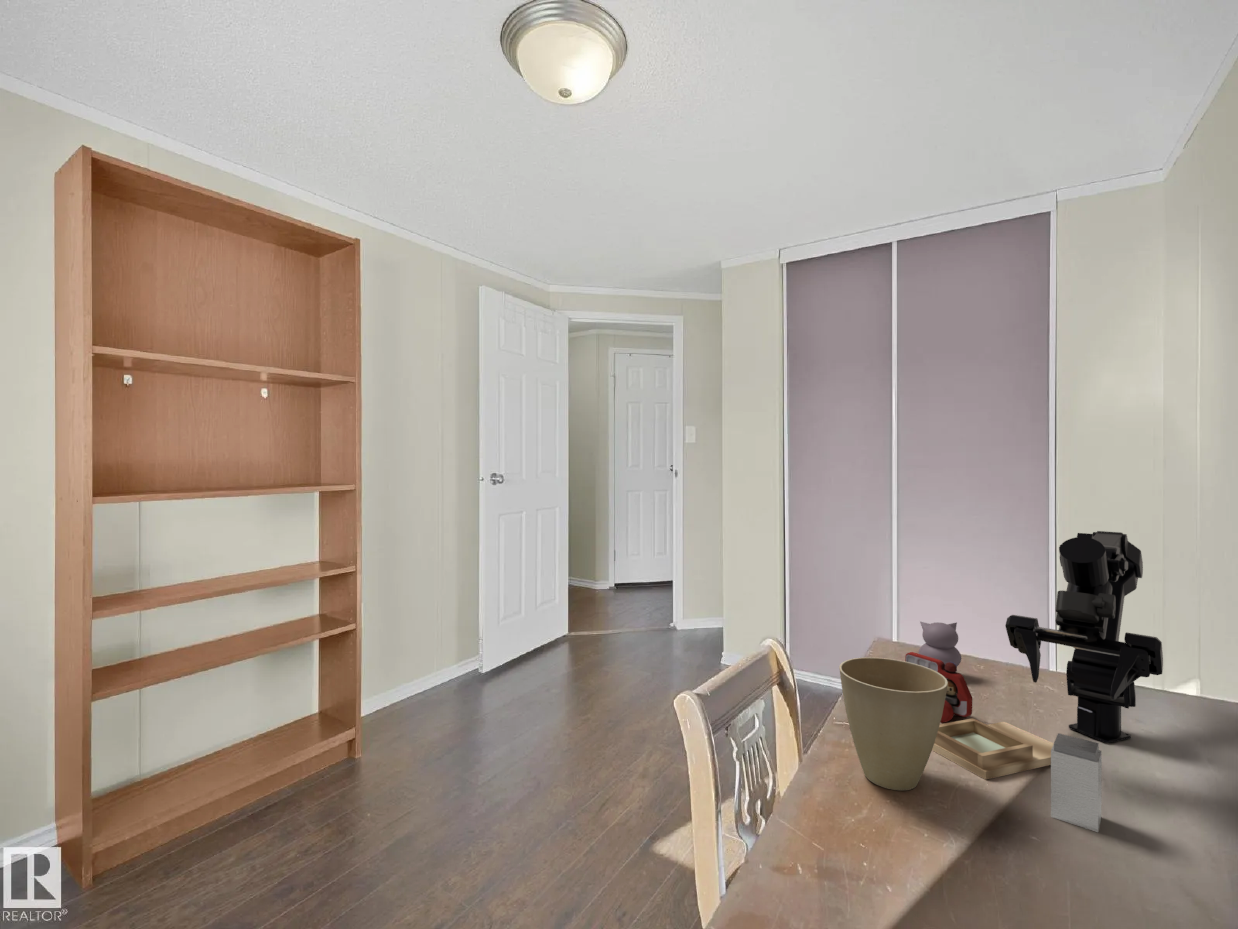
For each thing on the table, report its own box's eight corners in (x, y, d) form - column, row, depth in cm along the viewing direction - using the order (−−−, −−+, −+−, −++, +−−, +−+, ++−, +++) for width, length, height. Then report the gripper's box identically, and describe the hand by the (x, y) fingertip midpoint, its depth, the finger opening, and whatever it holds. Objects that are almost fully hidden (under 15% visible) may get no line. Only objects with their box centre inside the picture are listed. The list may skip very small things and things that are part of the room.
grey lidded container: (1055, 803, 84) (1055, 732, 84) (1101, 817, 80) (1101, 743, 80) (1050, 817, 81) (1050, 743, 81) (1098, 832, 77) (1098, 755, 77)
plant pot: (908, 818, 80) (909, 699, 80) (818, 770, 93) (818, 667, 93) (968, 786, 88) (968, 678, 88) (877, 746, 101) (878, 651, 101)
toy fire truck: (959, 730, 107) (959, 672, 107) (895, 706, 117) (895, 653, 117) (980, 721, 111) (980, 665, 111) (916, 698, 121) (916, 647, 121)
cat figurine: (925, 681, 131) (925, 626, 131) (913, 669, 138) (913, 617, 138) (967, 684, 129) (967, 628, 129) (953, 671, 137) (953, 619, 137)
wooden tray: (1003, 728, 107) (1003, 710, 107) (1073, 759, 96) (1073, 739, 96) (921, 744, 101) (921, 725, 101) (985, 779, 90) (985, 758, 90)
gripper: (1009, 564, 99) (989, 640, 90) (1162, 581, 85) (1154, 671, 77) (1020, 609, 104) (1001, 684, 95) (1166, 630, 90) (1158, 721, 82)
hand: (1071, 689), depth 87 cm, fingers open, 9 cm apart
